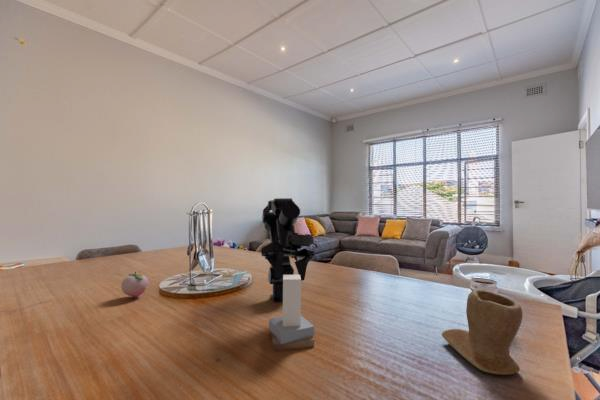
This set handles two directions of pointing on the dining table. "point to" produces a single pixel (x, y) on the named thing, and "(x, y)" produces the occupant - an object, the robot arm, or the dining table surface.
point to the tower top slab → (290, 330)
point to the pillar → (291, 300)
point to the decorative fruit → (134, 285)
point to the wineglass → (483, 285)
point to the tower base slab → (292, 343)
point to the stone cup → (488, 332)
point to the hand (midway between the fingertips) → (292, 279)
